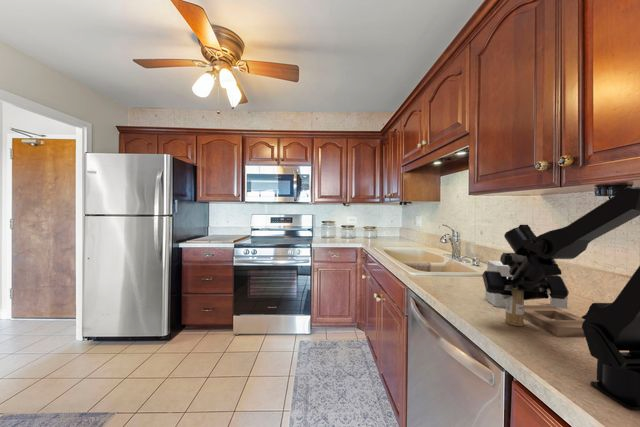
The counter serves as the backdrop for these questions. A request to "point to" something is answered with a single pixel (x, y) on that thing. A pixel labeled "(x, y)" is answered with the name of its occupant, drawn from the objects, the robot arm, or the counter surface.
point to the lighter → (558, 301)
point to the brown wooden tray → (561, 326)
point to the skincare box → (504, 270)
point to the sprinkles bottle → (515, 308)
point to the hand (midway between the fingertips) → (512, 298)
